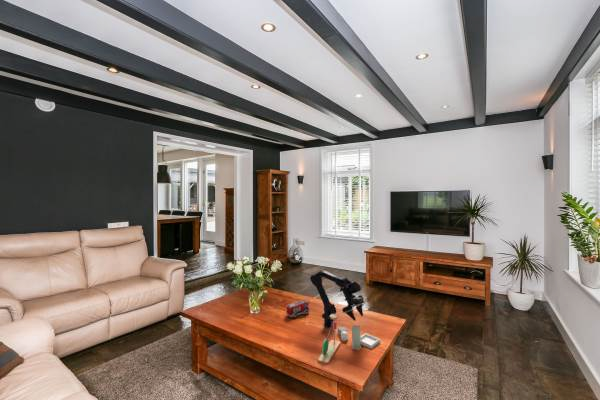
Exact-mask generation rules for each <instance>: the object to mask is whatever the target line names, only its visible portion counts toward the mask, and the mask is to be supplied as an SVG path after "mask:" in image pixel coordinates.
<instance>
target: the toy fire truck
mask: <svg viewBox="0 0 600 400" xmlns="http://www.w3.org/2000/svg"><path fill="white" fill-rule="evenodd" d="M308 302H310V301H309V300H307V298H305V299H302V300H299V301H296V302H293V303H289V304H287V305H286V313H285V314H286V315H287V316H289V318H292V317H293V319H297V317H298V316H299V315H303V314H304V316H308V314H309V313H310V309H309V308H310V307H309V304H310V303H308Z"/></svg>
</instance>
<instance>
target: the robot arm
mask: <svg viewBox="0 0 600 400" xmlns="http://www.w3.org/2000/svg"><path fill="white" fill-rule="evenodd" d="M322 278H324V279H326V280H329V281H330V282H331V281H332V282H334V283H335V285H336V286H338V287H339V288H340V289H339V292H342V293H343V296H344V298H345V299H344V301H346V302H347V305H346V306H344V307H342V310H341V311H342V313H344V314H346V315H348V317H350V319H352V320H353V321H354V322H355V321H356V320H357V319H356V317H355V314H354V308H355V309H356V310H357V312H358V313H359V315H360V316H361V317H363V316H364V312H363V305H364V304H365V301H364V296H363V295H362V294H359V295H358V296H356V295H355V294H356V293H358V292H361V291H362V289H361V285H360V284H359V283H358V282H357V281H353V282H352V281H350V280H349V279H348V278H347V277H345V276H341V275H340V276H339V275H337V274H334V273H331V272H329V271H327V270H325V269H322V270H320V271H318V272H317V273H315V274H311V275H310V277H309V279H310V282H311V283H312V285H313V286H314V287H316V288H315V289H316V290H317V292H318V295H319V296H320V297H319V298H320V300H321V302H322V304H323V314H321V318H322V319H323V327H324V328H331V326H332V321H334V320H333V319H330V315H331V314H336V313H337V308H336V306H335V304H334V303H331V302H330V299H329V296H328V294H327V292H326V290H325V288H324V286H323V279H322Z"/></svg>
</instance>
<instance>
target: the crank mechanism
mask: <svg viewBox="0 0 600 400" xmlns="http://www.w3.org/2000/svg"><path fill="white" fill-rule="evenodd" d="M330 319H333V320H334V321H332V326H331V327H330V329H329V331H328V335H327V338H325V339H324V341H323V344H322V349H321V350H322V352H321V354H320V355H319V356H318V358H317V362H318V363H319V364H322V365H323V364H324V365H330V362H331V361H332V359H333V357H334V356H335V354H336V352H337V351H338V349H339V348H340V346H341V342H340V341H339V340H336V333H335V332H336V330H338V327H337V325H338V324H337V321H336V320H338V319H339V315H338V314H331V315H330ZM332 330H333V339H331V340H330V341H329V339H328V338H329V336H330V333H331V331H332Z"/></svg>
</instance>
